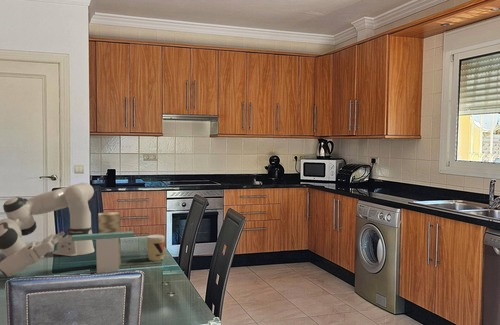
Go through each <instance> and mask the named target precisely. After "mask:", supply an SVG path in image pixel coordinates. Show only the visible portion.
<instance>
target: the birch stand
mask: <svg viewBox="0 0 500 325" xmlns="http://www.w3.org/2000/svg"><path fill="white" fill-rule="evenodd" d="M97 215H98V216H97V217H98V218H97V219H98V233H114V232H121V224H120V223H121V218H120V215H121V214H120V211H115V212H113V211H111V212H98V214H97ZM118 242H119V267H121V266H122V263H121V262H122V259H121V238H118Z"/></svg>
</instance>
